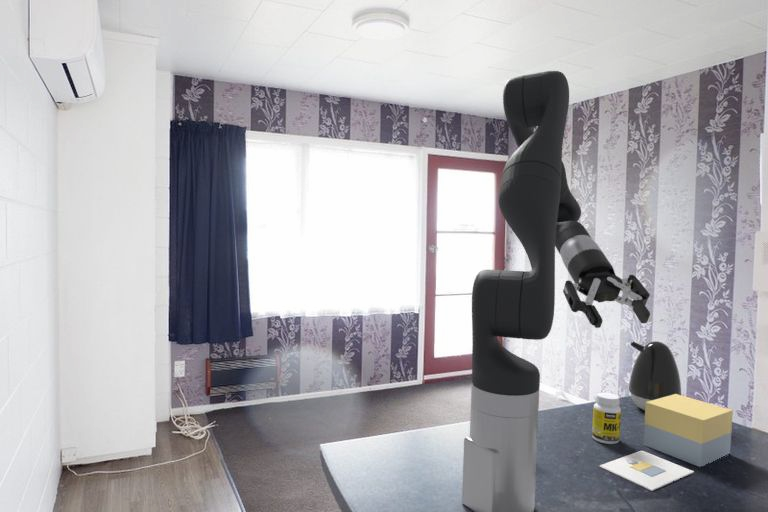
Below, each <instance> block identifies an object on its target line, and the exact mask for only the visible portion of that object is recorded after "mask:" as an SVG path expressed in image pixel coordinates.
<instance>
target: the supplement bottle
mask: <svg viewBox="0 0 768 512" xmlns="http://www.w3.org/2000/svg"><path fill="white" fill-rule="evenodd" d="M595 398H596V400H595V401H596V402H595V403H594V404H593V410H592V411H593V412H592V413H593V415H592V429H591V437H592V438H593V440H595V442H599V443H601V444H606V445H615V444H618V443H619V442H620V433H621V420H622V419H621V418H622V409H621V407H620V403H621V402H620V396H619V395H617V394H614V393H611V392H598V393H596V397H595Z"/></svg>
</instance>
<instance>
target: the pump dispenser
mask: <svg viewBox="0 0 768 512" xmlns="http://www.w3.org/2000/svg"><path fill="white" fill-rule="evenodd" d="M630 346H631V347H633V348H634V349H636V350H638V351H639V354H638V356H637V358H636V359H635V362H634V364H633V367H632V370H631V374H630V379H629V384H628V392H629V393H630V397H631V400H632V402H633V403H634V405H636V406H637V407H638V408H639V409H641V410H642V411H645V407H646V402H648V401H652V400H655V399H659V398H663V397H666V396H670V395H673V394H678V395H682V387H681V386H682V385H681V384H682V383H681V376H680V372H679V368H678V365H677V362H676V359H675V357H674V355H673V353H672V351H671V349H670V347H669V346H668V345H667V344H665V343H663V342H661V341H651V342H648V343H647V344H645V345H642V344H640V343H638V342H635V341H631V343H630Z"/></svg>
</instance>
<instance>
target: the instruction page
mask: <svg viewBox="0 0 768 512" xmlns="http://www.w3.org/2000/svg"><path fill="white" fill-rule="evenodd" d="M599 468H601V469H604V470H605V471H607V472H610V473H612V474H614V475H616V476H618V477H620V478H623V479H625V480H626V481H627V480H628V481H629V482H631V483H633V484H635V485H638V486H640V487H642V488H645V489H646V490H649V491H651V492H653V491H655V490H657V489H660V488H662V487H664V486H667V485H669V484H671V483H674V482H676V481H678V480H681V479H683V478H686V477H687V476H689V475H692V474H694V473H695V471H694V470H691V469H689V468H686V467H684V466H682V465H679V464H676V463H673V462H671V461H669V460H667V459H664V458H662V457H659V456H657V455H654V454H652V453H649V452H647V451H644V450H639V451H636V452H633V453H630V454H628V455H624V456H622V457H620V458H619V457H618V458H617V459H614V460H611V461H607V462H605V463H603V464H600V465H599ZM680 478H681V479H680ZM673 481H674V482H673Z"/></svg>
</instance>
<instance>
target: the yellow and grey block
mask: <svg viewBox="0 0 768 512" xmlns="http://www.w3.org/2000/svg"><path fill="white" fill-rule="evenodd" d="M733 413H734V410H733V409H730V408H726V407H723V406H719V405H716V404H713V403H709V402H705V401H702V400H698V399H695V398H692V397H687V396H685V395H682V394H681V395H678V394H673V395H670V396H666V397H663V398H659V399H655V400H652V401H648V402H646V407H645V412H644V426H643V427H644V428H643V446H645V447H647V448H651V449H653V450H654V451H655V450H656V451H658V452H660V453H663V454H666V455H667V456H671V457H673V458H676V459H678V460H680V461H682V462H683V461H684V462H686V463H688V464H691V465H694V466H696V467H699V468H701V466H702V467H704V466H706V464H707V465H708V463H709V464H711V463H714V462H715V460H716V461H718V460H720V459H722V458H721V457H723V456H725V455H727V454H729V453H730V454H731V446H732V445H731V444H732V428H733V426H732V425H733ZM727 456H728V455H727ZM725 457H726V456H725ZM719 458H720V459H719ZM723 458H724V457H723ZM717 459H718V460H717ZM713 461H714V462H713Z"/></svg>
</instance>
